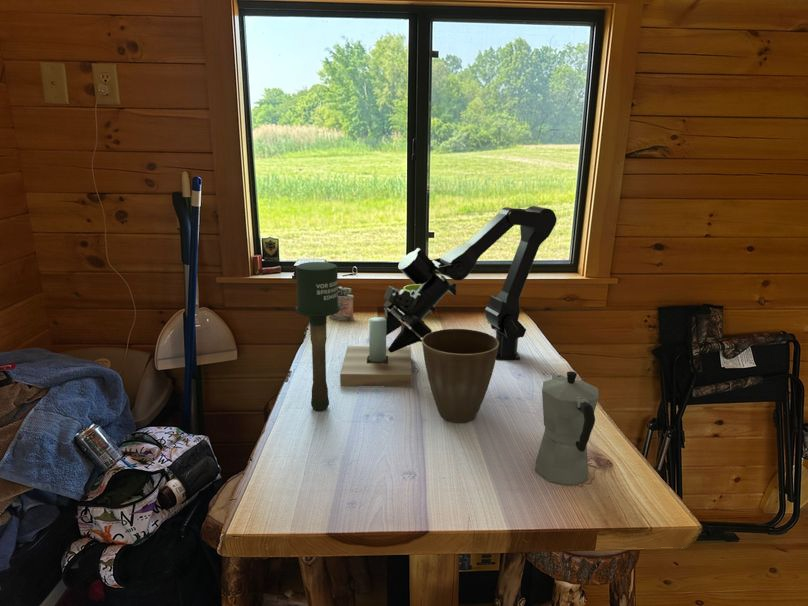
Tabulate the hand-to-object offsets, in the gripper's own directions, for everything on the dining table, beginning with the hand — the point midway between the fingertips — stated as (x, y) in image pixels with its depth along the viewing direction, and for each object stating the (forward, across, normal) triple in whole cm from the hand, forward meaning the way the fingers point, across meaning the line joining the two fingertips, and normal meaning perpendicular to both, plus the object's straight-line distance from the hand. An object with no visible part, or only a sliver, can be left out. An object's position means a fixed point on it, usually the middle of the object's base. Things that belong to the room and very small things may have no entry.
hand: (383, 344), depth 134 cm
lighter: (+4, -44, +5) cm, 44 cm away
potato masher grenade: (+18, +15, -8) cm, 25 cm away
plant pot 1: (-13, -41, +23) cm, 49 cm away
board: (+6, 0, +4) cm, 7 cm away
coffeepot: (-6, +52, +16) cm, 54 cm away
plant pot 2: (0, +26, +10) cm, 28 cm away
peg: (+6, 0, +4) cm, 7 cm away
